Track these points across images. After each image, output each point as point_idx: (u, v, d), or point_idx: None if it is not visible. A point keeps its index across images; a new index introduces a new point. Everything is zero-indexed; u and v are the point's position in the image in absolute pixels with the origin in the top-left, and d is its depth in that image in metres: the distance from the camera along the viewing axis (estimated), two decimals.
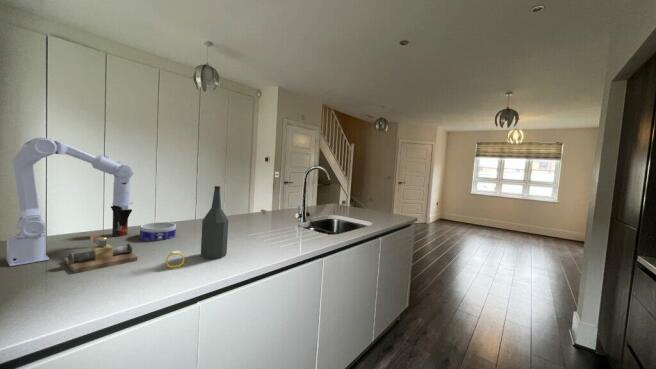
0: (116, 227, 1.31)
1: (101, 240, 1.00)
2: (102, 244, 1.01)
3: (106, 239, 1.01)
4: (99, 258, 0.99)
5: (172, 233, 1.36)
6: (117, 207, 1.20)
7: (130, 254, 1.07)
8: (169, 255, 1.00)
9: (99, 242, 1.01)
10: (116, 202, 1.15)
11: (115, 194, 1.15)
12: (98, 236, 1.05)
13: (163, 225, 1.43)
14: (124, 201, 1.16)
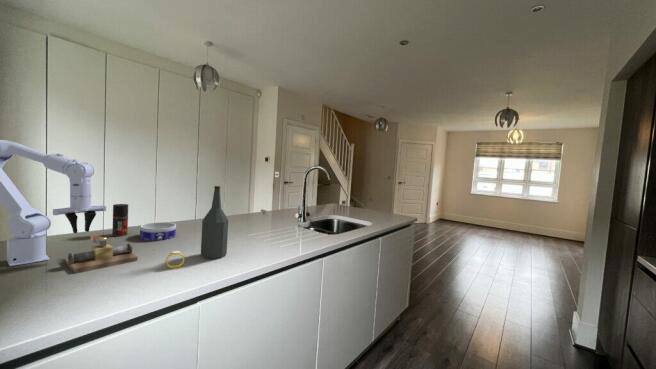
0: (116, 227, 1.31)
1: (101, 240, 1.00)
2: (102, 244, 1.01)
3: (106, 239, 1.01)
4: (99, 258, 0.99)
5: (172, 233, 1.36)
6: (85, 213, 1.02)
7: (130, 254, 1.07)
8: (169, 255, 1.00)
9: (99, 242, 1.01)
10: None
11: None
12: (98, 236, 1.05)
13: (163, 225, 1.43)
14: (70, 205, 0.98)
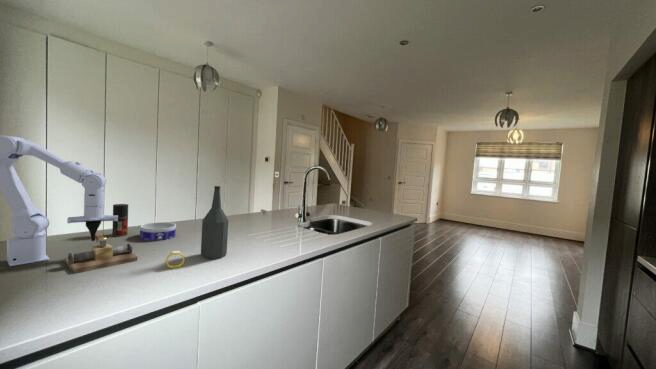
0: (116, 227, 1.31)
1: (100, 240, 1.00)
2: (102, 244, 1.00)
3: (106, 239, 1.01)
4: (99, 258, 0.99)
5: (172, 233, 1.36)
6: None
7: (130, 254, 1.07)
8: (169, 255, 1.00)
9: (99, 242, 1.01)
10: None
11: None
12: (101, 236, 1.06)
13: (163, 225, 1.43)
14: None
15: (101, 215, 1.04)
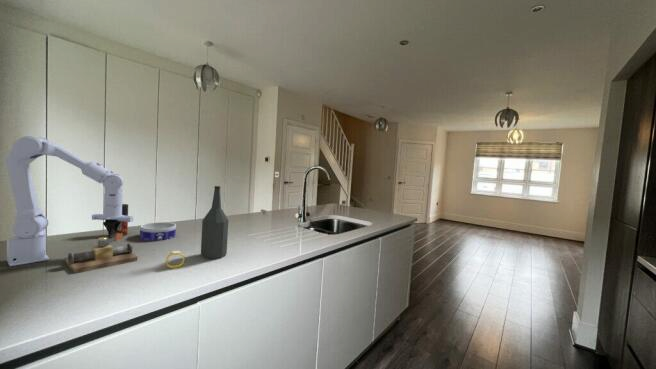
0: None
1: (98, 240, 1.00)
2: (99, 244, 1.00)
3: (103, 240, 1.00)
4: (99, 258, 0.99)
5: (172, 233, 1.36)
6: None
7: (130, 254, 1.07)
8: (169, 255, 1.00)
9: None
10: None
11: None
12: (114, 235, 1.07)
13: (163, 225, 1.43)
14: None
15: (116, 215, 1.07)
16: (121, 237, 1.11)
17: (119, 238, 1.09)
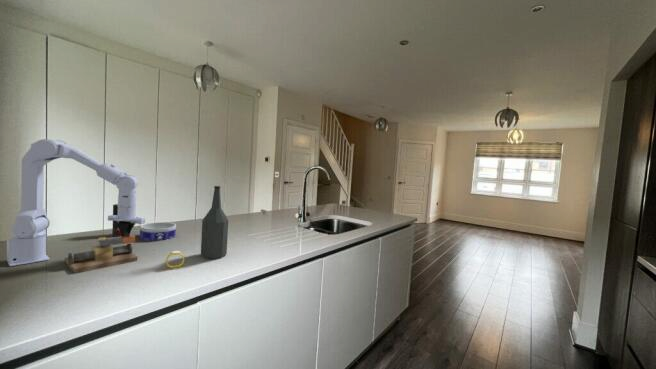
0: (116, 227, 1.31)
1: None
2: (98, 244, 1.01)
3: (100, 240, 1.00)
4: (99, 258, 0.99)
5: (172, 233, 1.36)
6: None
7: (130, 254, 1.07)
8: (169, 255, 1.00)
9: None
10: None
11: None
12: (122, 237, 1.06)
13: (163, 225, 1.43)
14: None
15: (128, 216, 1.06)
16: (133, 240, 1.08)
17: (129, 241, 1.07)
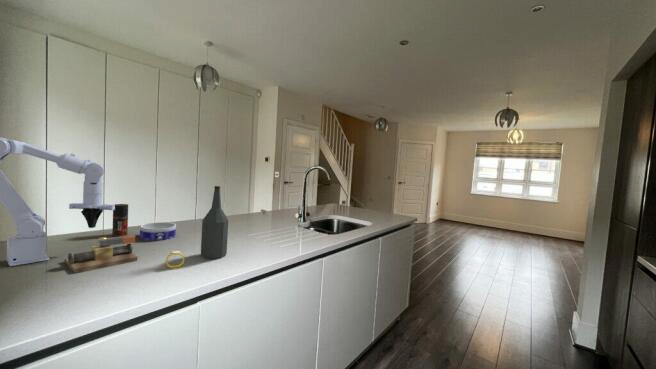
0: (116, 227, 1.31)
1: None
2: (98, 244, 1.01)
3: (100, 240, 1.00)
4: (99, 258, 0.99)
5: (172, 233, 1.36)
6: None
7: (130, 254, 1.07)
8: (169, 255, 1.00)
9: None
10: None
11: None
12: (122, 237, 1.06)
13: (163, 225, 1.43)
14: None
15: (97, 203, 1.07)
16: (133, 240, 1.08)
17: (129, 241, 1.07)
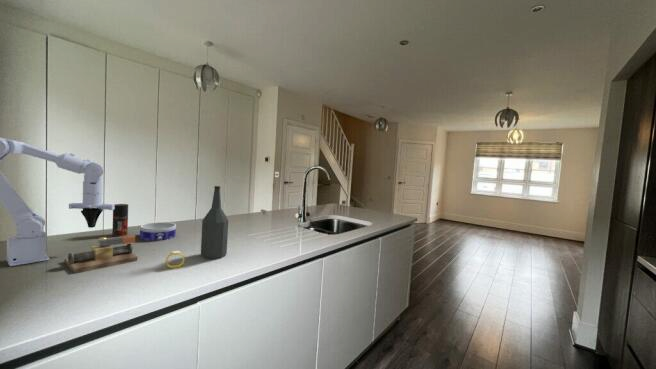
0: (116, 227, 1.31)
1: None
2: (98, 244, 1.01)
3: (100, 240, 1.00)
4: (99, 258, 0.99)
5: (172, 233, 1.36)
6: None
7: (130, 254, 1.07)
8: (169, 255, 1.00)
9: None
10: None
11: None
12: (122, 237, 1.06)
13: (163, 225, 1.43)
14: None
15: (96, 203, 1.07)
16: (133, 240, 1.08)
17: (129, 241, 1.07)
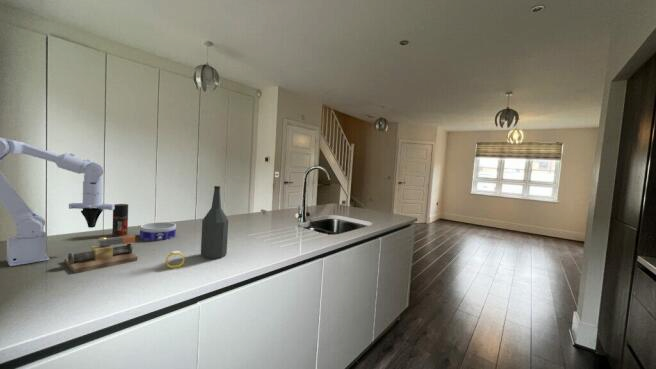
0: (116, 227, 1.31)
1: None
2: (98, 244, 1.01)
3: (100, 240, 1.00)
4: (99, 258, 0.99)
5: (172, 233, 1.36)
6: None
7: (130, 254, 1.07)
8: (169, 255, 1.00)
9: None
10: None
11: None
12: (122, 237, 1.06)
13: (163, 225, 1.43)
14: None
15: (96, 203, 1.07)
16: (133, 240, 1.08)
17: (129, 241, 1.07)
